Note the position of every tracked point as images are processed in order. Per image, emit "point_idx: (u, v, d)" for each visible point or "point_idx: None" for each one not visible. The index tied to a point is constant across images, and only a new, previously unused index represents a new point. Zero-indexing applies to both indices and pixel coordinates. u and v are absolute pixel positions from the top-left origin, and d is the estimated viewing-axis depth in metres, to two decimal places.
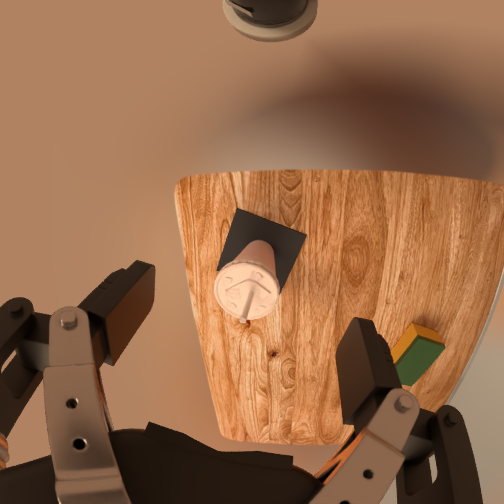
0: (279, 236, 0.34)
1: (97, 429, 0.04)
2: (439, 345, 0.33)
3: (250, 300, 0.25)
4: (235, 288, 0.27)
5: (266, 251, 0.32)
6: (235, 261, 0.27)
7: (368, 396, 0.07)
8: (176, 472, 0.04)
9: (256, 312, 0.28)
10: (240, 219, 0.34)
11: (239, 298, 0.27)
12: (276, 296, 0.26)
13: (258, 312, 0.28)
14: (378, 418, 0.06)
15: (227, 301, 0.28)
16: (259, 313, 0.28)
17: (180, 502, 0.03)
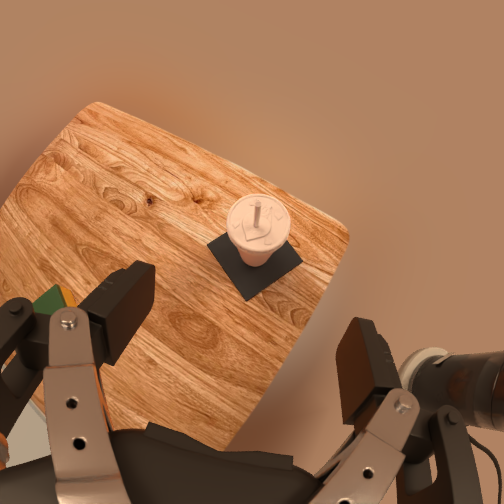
0: (260, 278, 0.36)
1: (97, 429, 0.04)
2: None
3: (257, 221, 0.26)
4: (268, 216, 0.28)
5: (263, 260, 0.33)
6: (288, 232, 0.28)
7: (368, 396, 0.07)
8: (176, 472, 0.04)
9: (234, 216, 0.28)
10: (292, 257, 0.37)
11: None
12: (239, 244, 0.27)
13: (233, 219, 0.28)
14: (378, 418, 0.06)
15: (260, 201, 0.28)
16: (232, 219, 0.28)
17: (180, 502, 0.03)
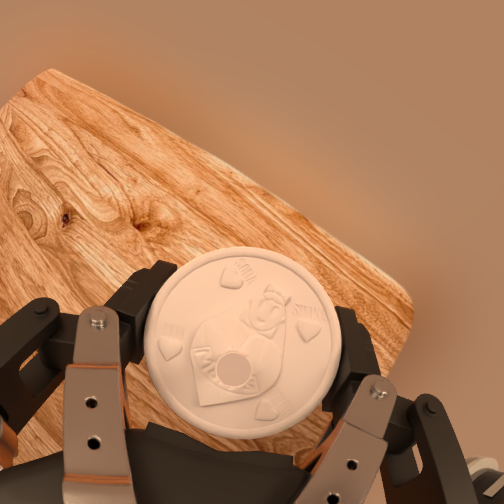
0: None
1: (114, 431, 0.04)
2: None
3: None
4: (277, 331, 0.08)
5: None
6: None
7: (345, 382, 0.07)
8: (176, 472, 0.04)
9: (168, 320, 0.08)
10: None
11: (242, 318, 0.08)
12: (179, 411, 0.07)
13: (165, 327, 0.08)
14: (355, 407, 0.06)
15: (254, 275, 0.09)
16: (160, 328, 0.08)
17: (180, 502, 0.03)
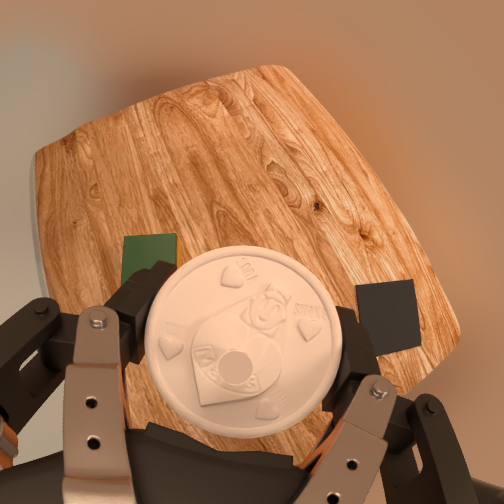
0: (384, 343, 0.30)
1: (114, 431, 0.04)
2: None
3: None
4: (278, 330, 0.08)
5: None
6: None
7: (345, 382, 0.07)
8: (176, 472, 0.04)
9: (169, 319, 0.08)
10: (416, 338, 0.31)
11: (243, 317, 0.08)
12: (180, 410, 0.07)
13: (165, 326, 0.08)
14: (355, 407, 0.06)
15: (255, 274, 0.09)
16: (161, 327, 0.08)
17: (180, 502, 0.03)
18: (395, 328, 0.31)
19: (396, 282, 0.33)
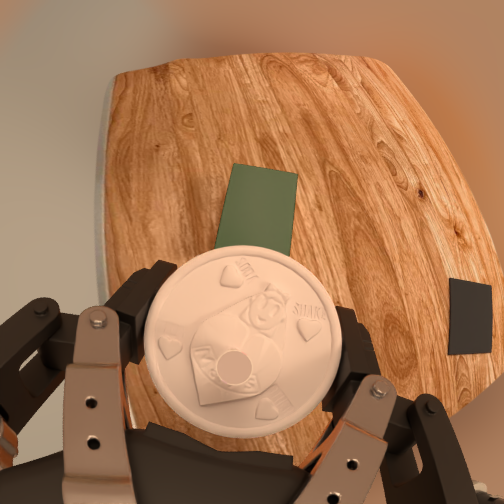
0: (466, 342, 0.24)
1: (114, 431, 0.04)
2: None
3: None
4: (277, 329, 0.08)
5: None
6: None
7: (345, 382, 0.07)
8: (176, 472, 0.04)
9: (168, 319, 0.08)
10: (488, 343, 0.24)
11: (243, 316, 0.08)
12: (179, 409, 0.07)
13: (165, 326, 0.08)
14: (355, 407, 0.06)
15: (255, 273, 0.09)
16: (160, 327, 0.08)
17: (180, 502, 0.03)
18: (475, 329, 0.25)
19: (479, 284, 0.27)
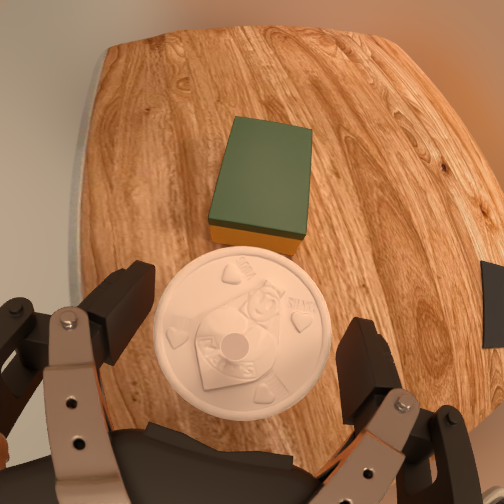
0: (499, 334, 0.19)
1: (97, 429, 0.04)
2: (231, 221, 0.17)
3: None
4: (273, 321, 0.09)
5: None
6: None
7: (368, 396, 0.07)
8: (176, 472, 0.04)
9: (175, 312, 0.09)
10: None
11: (242, 309, 0.09)
12: (184, 395, 0.08)
13: (172, 319, 0.09)
14: (378, 418, 0.06)
15: (253, 271, 0.10)
16: (168, 319, 0.09)
17: (180, 502, 0.03)
18: None
19: None
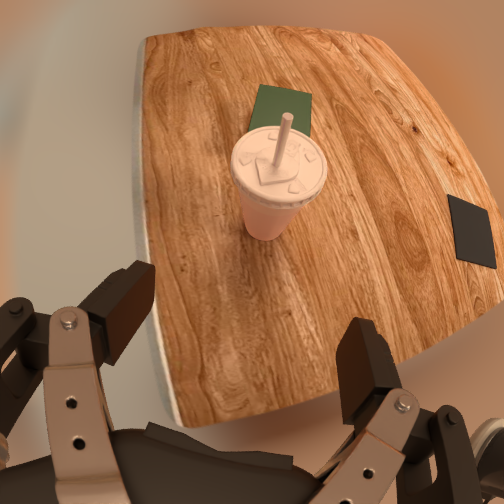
0: (471, 251, 0.27)
1: (97, 429, 0.04)
2: None
3: (280, 153, 0.16)
4: (296, 155, 0.17)
5: (277, 228, 0.22)
6: None
7: (368, 396, 0.07)
8: (176, 472, 0.04)
9: (244, 150, 0.17)
10: (492, 259, 0.27)
11: None
12: (249, 187, 0.17)
13: (242, 153, 0.17)
14: (378, 418, 0.06)
15: None
16: (240, 153, 0.17)
17: (180, 502, 0.03)
18: (478, 243, 0.28)
19: (476, 206, 0.30)
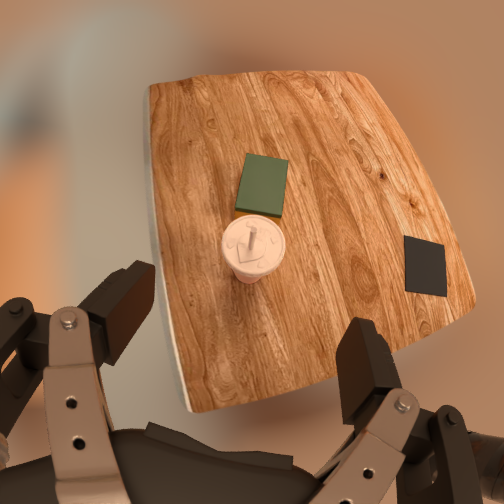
0: (421, 284, 0.37)
1: (97, 429, 0.04)
2: (246, 209, 0.35)
3: (252, 244, 0.26)
4: (264, 239, 0.28)
5: (255, 279, 0.33)
6: (282, 256, 0.28)
7: (368, 396, 0.07)
8: (176, 472, 0.04)
9: (229, 236, 0.28)
10: (443, 289, 0.37)
11: None
12: (233, 265, 0.27)
13: (228, 239, 0.28)
14: (378, 418, 0.06)
15: (257, 223, 0.28)
16: (227, 239, 0.28)
17: (180, 502, 0.03)
18: (429, 275, 0.38)
19: (432, 243, 0.40)
